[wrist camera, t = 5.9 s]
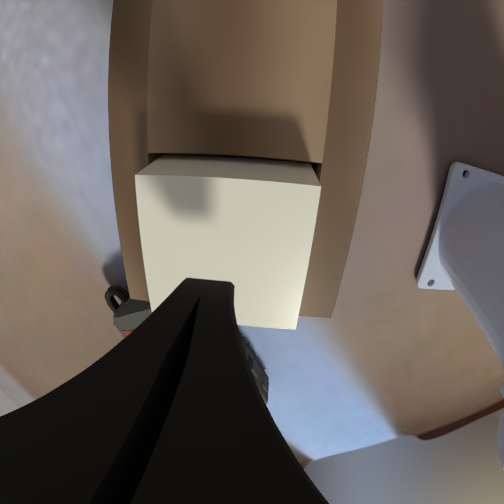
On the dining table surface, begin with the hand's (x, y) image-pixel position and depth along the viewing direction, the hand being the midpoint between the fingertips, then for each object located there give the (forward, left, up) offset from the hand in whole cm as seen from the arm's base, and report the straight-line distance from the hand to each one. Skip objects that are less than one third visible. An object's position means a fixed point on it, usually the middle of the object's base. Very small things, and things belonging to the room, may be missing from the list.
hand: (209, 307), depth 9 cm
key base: (0, -10, -8) cm, 12 cm away
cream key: (0, 0, -6) cm, 6 cm away
